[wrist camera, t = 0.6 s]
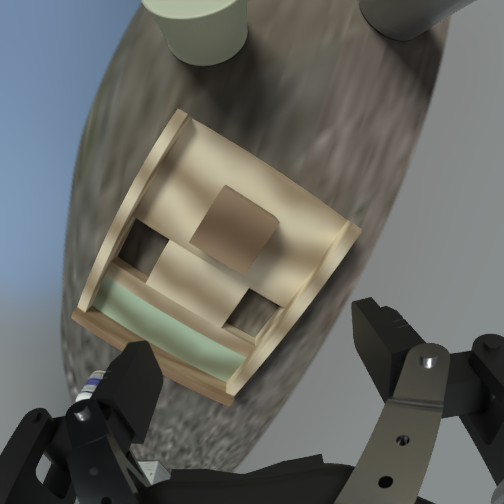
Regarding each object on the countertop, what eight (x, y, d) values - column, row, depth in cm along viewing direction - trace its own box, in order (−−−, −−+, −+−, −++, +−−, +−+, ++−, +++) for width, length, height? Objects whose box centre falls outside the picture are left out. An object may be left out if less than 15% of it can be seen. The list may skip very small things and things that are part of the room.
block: (225, 184, 30) (223, 186, 26) (275, 216, 31) (280, 222, 27) (195, 233, 31) (188, 242, 27) (243, 263, 32) (243, 276, 28)
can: (257, 53, 28) (265, 0, 16) (178, 77, 28) (147, 33, 17) (235, -4, 26) (233, -64, 14) (161, 17, 26) (131, -35, 14)
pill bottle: (117, 400, 39) (99, 439, 31) (88, 384, 38) (66, 420, 30) (125, 380, 38) (106, 420, 30) (94, 363, 37) (70, 400, 29)
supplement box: (158, 459, 44) (146, 512, 31) (175, 478, 45) (167, 527, 33) (126, 459, 44) (111, 508, 32) (144, 478, 46) (133, 524, 34)
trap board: (185, 115, 30) (175, 106, 25) (349, 223, 33) (366, 232, 28) (88, 301, 35) (71, 317, 30) (230, 382, 38) (229, 406, 34)
